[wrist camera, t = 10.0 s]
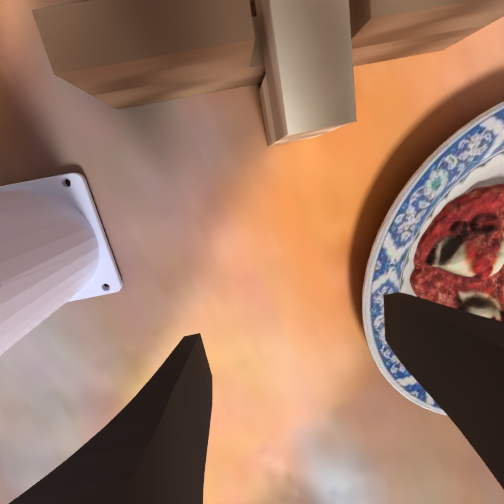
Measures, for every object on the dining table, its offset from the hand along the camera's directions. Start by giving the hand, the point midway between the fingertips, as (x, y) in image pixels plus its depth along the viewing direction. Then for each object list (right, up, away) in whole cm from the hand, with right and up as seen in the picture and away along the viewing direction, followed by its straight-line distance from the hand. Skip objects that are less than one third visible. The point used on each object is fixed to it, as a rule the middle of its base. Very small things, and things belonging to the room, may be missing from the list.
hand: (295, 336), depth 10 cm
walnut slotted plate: (0, +15, +5) cm, 16 cm away
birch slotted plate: (0, +15, +5) cm, 16 cm away
